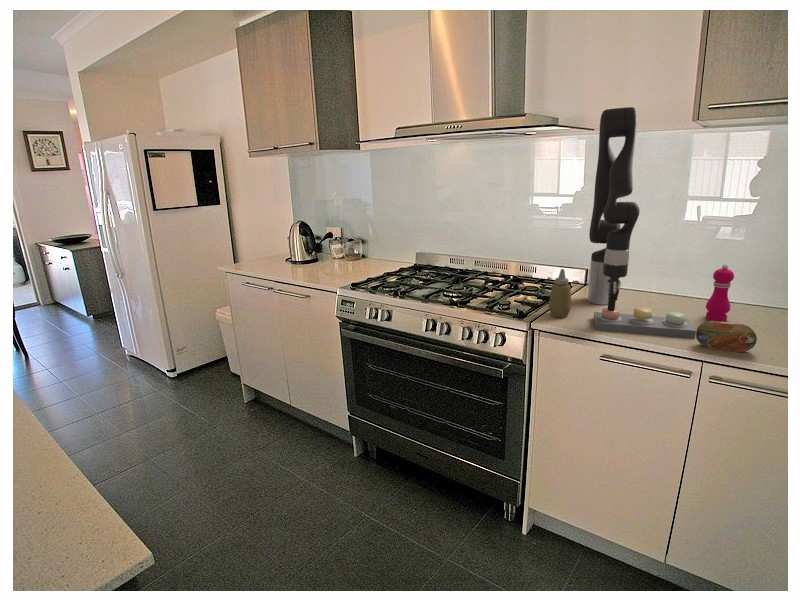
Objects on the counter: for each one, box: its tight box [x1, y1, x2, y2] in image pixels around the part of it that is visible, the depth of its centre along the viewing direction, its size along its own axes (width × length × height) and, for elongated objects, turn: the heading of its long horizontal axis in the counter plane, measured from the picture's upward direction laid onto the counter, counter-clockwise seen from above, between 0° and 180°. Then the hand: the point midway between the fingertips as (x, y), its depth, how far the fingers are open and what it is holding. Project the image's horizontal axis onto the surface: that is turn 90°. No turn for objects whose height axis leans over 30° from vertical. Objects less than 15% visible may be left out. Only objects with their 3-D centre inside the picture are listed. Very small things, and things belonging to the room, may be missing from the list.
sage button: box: [665, 311, 687, 324], centre depth 155 cm, size 6×6×2 cm
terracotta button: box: [601, 307, 621, 319], centre depth 161 cm, size 6×6×2 cm
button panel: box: [593, 311, 697, 339], centre depth 159 cm, size 12×30×3 cm, turn 70°
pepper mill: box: [705, 264, 735, 322], centre depth 162 cm, size 7×7×20 cm
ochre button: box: [632, 306, 653, 319], centre depth 158 cm, size 6×6×2 cm
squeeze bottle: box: [548, 268, 572, 319], centre depth 171 cm, size 8×8×18 cm
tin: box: [695, 320, 758, 353], centre depth 139 cm, size 15×3×8 cm, turn 59°
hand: (610, 310), depth 161 cm, fingers closed
